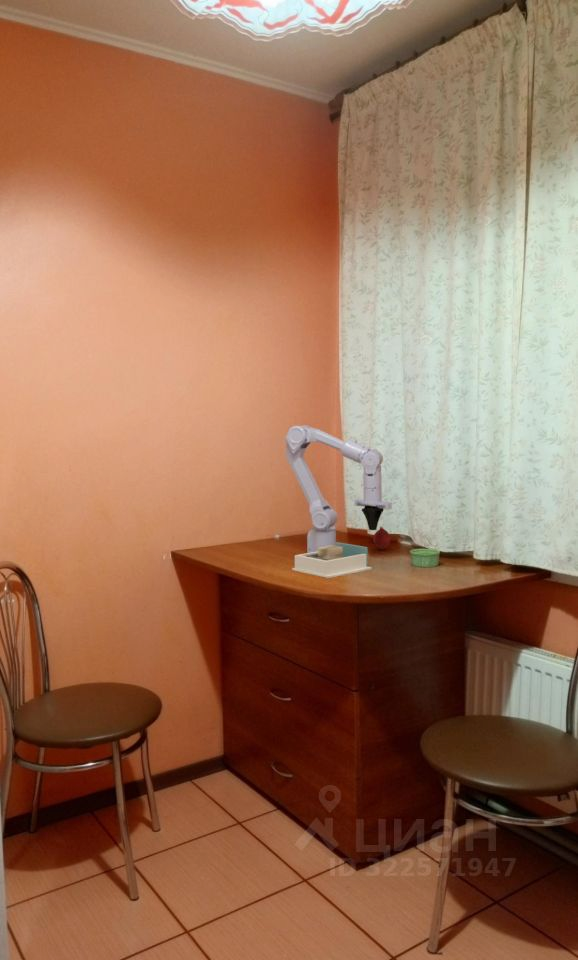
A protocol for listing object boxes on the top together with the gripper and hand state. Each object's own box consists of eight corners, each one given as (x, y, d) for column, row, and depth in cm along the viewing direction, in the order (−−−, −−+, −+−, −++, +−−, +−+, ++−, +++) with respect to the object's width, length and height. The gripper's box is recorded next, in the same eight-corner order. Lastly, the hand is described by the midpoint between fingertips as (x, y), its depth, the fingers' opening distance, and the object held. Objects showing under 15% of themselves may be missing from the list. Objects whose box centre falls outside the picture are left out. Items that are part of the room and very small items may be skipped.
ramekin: (445, 565, 230) (445, 551, 230) (427, 569, 224) (428, 555, 224) (422, 561, 237) (422, 547, 236) (404, 565, 230) (404, 551, 230)
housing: (334, 561, 237) (334, 547, 237) (371, 569, 225) (371, 554, 225) (292, 570, 226) (291, 554, 225) (328, 578, 214) (328, 562, 213)
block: (318, 564, 225) (318, 547, 224) (332, 561, 229) (332, 545, 228) (328, 566, 221) (328, 549, 221) (342, 563, 225) (342, 547, 225)
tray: (337, 559, 236) (337, 542, 235) (367, 565, 226) (367, 547, 226) (303, 566, 227) (303, 548, 226) (333, 572, 217) (332, 553, 216)
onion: (392, 548, 259) (392, 525, 258) (387, 551, 253) (387, 528, 253) (376, 547, 261) (376, 525, 260) (371, 550, 256) (371, 527, 255)
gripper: (347, 487, 242) (347, 528, 243) (380, 490, 231) (381, 533, 232) (362, 485, 247) (363, 526, 248) (396, 488, 236) (396, 531, 237)
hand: (372, 529), depth 241 cm, fingers closed
